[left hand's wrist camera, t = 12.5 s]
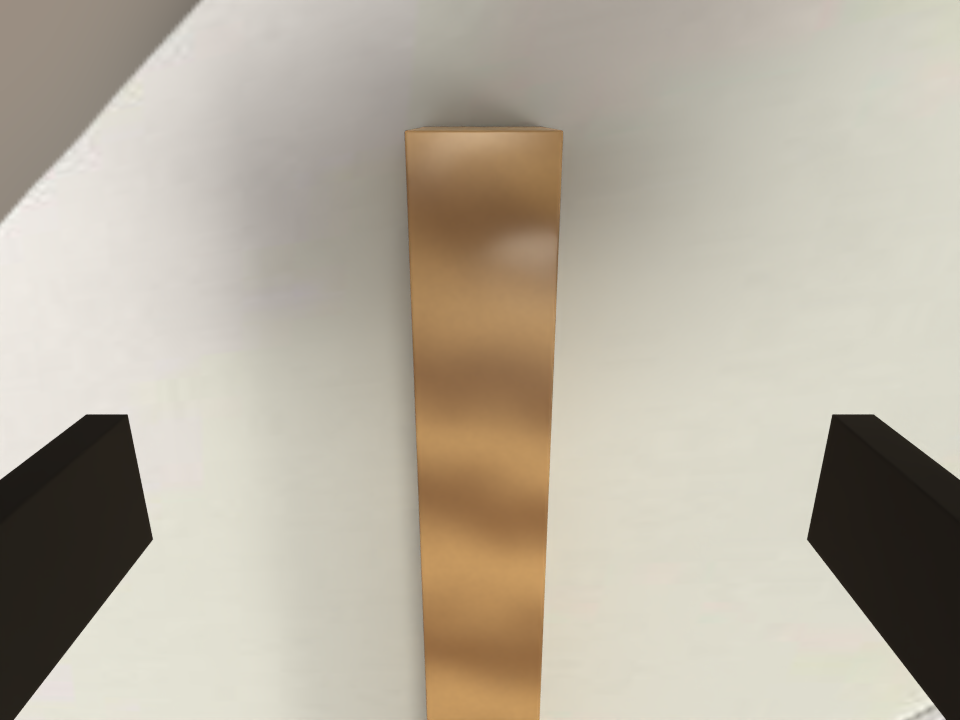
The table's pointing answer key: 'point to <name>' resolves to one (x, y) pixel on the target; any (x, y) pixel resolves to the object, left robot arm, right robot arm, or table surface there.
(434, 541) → the post
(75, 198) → the table surface
